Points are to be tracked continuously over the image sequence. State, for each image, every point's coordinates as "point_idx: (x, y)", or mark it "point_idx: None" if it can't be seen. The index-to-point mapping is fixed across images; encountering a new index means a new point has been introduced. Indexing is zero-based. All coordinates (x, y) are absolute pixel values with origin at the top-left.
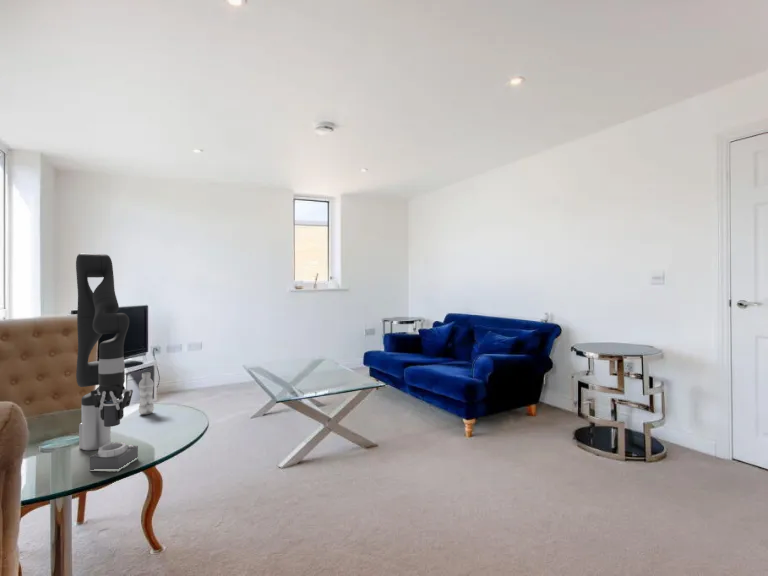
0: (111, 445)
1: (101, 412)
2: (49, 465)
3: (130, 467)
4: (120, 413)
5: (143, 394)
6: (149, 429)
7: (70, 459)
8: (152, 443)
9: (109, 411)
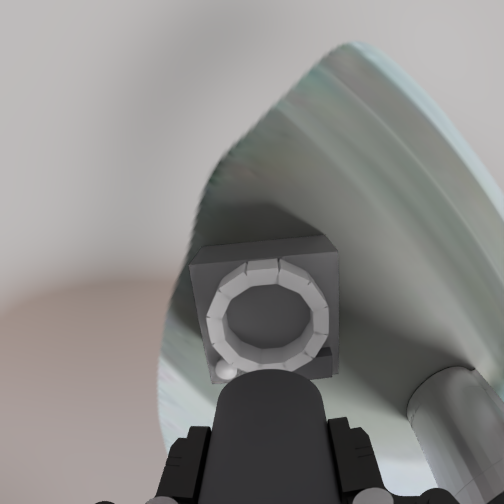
0: (300, 348)
1: (367, 467)
2: (492, 256)
3: (191, 291)
4: (163, 471)
5: None
6: None
7: (462, 307)
8: None
9: (236, 477)
